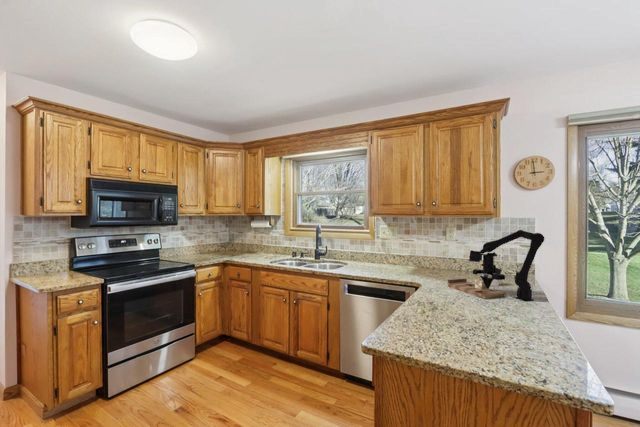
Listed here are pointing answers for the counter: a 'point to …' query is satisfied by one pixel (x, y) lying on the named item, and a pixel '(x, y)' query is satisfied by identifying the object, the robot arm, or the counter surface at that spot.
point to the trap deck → (474, 289)
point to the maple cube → (480, 284)
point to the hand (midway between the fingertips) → (487, 288)
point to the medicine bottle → (495, 282)
